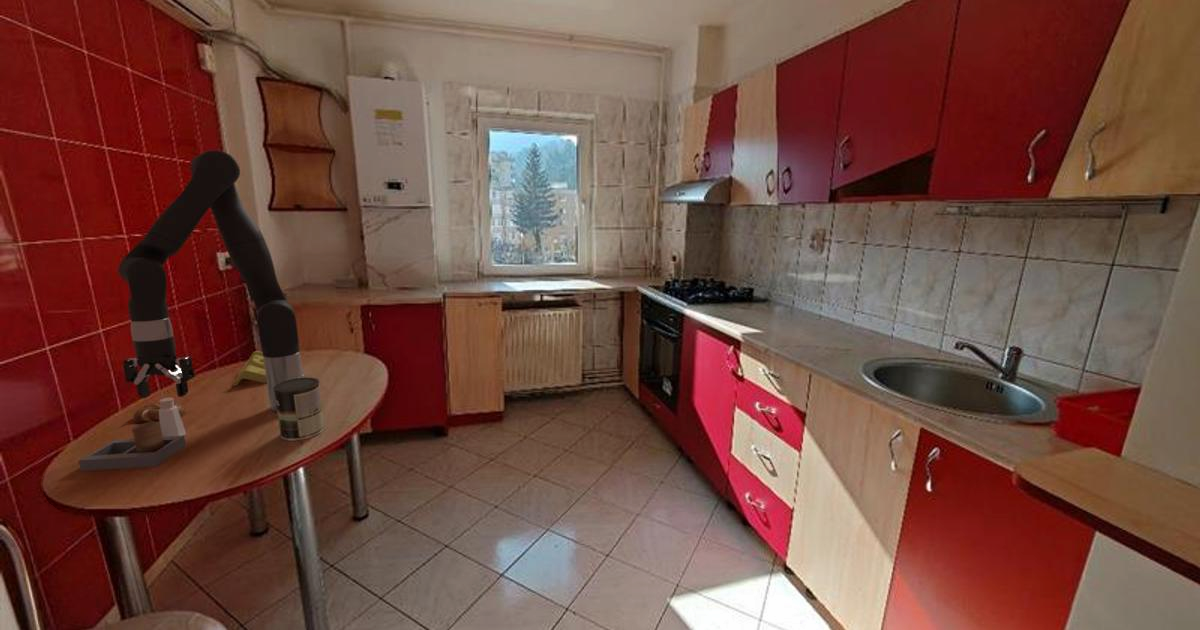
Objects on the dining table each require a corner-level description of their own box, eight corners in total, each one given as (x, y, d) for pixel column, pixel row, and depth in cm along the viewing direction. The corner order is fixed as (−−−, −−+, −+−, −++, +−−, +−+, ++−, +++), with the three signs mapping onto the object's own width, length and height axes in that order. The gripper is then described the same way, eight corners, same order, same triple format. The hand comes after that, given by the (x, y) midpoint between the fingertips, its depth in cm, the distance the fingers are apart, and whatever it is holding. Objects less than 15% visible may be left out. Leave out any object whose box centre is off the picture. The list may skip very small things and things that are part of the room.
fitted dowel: (171, 450, 115) (165, 421, 113) (156, 460, 110) (149, 430, 109) (149, 452, 114) (142, 422, 112) (133, 462, 110) (126, 431, 108)
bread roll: (198, 410, 141) (196, 399, 140) (164, 426, 130) (161, 414, 129) (159, 409, 141) (157, 397, 140) (122, 425, 131) (119, 412, 130)
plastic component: (272, 376, 162) (238, 368, 157) (264, 395, 163) (230, 388, 158) (281, 357, 179) (251, 349, 174) (274, 373, 180) (243, 366, 175)
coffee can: (276, 444, 121) (268, 393, 117) (285, 427, 130) (278, 380, 127) (322, 437, 125) (315, 387, 121) (327, 421, 134) (321, 375, 131)
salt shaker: (156, 444, 120) (147, 404, 117) (165, 435, 124) (157, 397, 122) (182, 440, 122) (175, 401, 119) (190, 431, 127) (183, 394, 124)
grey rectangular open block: (186, 448, 118) (184, 435, 117) (156, 469, 108) (153, 455, 108) (118, 452, 116) (115, 439, 115) (81, 474, 106) (78, 460, 105)
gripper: (195, 332, 122) (204, 390, 125) (133, 332, 120) (144, 392, 123) (174, 339, 115) (184, 401, 118) (108, 340, 112) (120, 403, 116)
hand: (164, 396), depth 121 cm, fingers open, 8 cm apart
